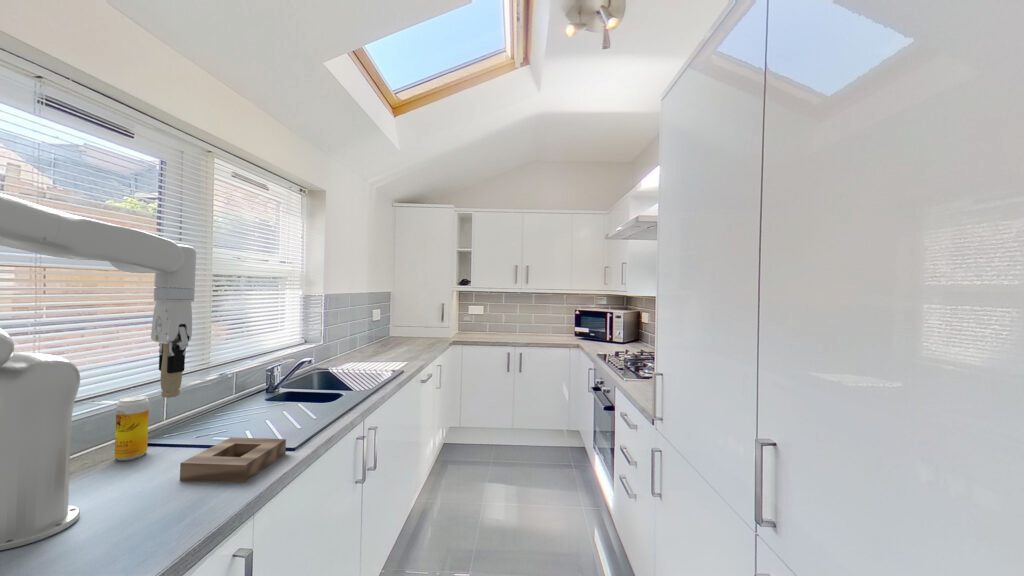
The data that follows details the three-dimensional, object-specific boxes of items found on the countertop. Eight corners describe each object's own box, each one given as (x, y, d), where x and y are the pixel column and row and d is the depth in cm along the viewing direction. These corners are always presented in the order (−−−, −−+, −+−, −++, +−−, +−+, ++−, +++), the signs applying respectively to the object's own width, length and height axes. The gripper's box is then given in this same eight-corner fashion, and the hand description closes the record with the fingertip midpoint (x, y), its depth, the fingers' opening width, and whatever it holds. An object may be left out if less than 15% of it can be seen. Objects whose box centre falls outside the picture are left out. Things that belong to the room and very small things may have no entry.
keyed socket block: (244, 482, 90) (245, 465, 90) (179, 480, 90) (180, 462, 90) (285, 453, 106) (286, 439, 106) (230, 452, 106) (230, 437, 106)
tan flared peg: (182, 398, 94) (184, 335, 94) (148, 399, 92) (151, 335, 92) (191, 393, 99) (193, 333, 99) (159, 394, 97) (161, 333, 97)
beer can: (108, 459, 100) (110, 400, 100) (136, 450, 106) (138, 394, 106) (125, 462, 99) (128, 402, 99) (153, 453, 105) (155, 396, 105)
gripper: (140, 294, 97) (137, 369, 96) (170, 296, 88) (166, 378, 88) (178, 294, 103) (175, 365, 103) (209, 296, 95) (205, 373, 95)
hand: (171, 370), depth 96 cm, fingers closed on tan flared peg, 3 cm apart
